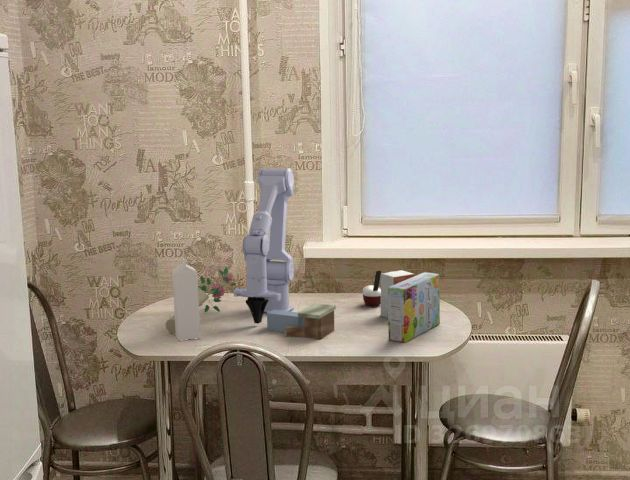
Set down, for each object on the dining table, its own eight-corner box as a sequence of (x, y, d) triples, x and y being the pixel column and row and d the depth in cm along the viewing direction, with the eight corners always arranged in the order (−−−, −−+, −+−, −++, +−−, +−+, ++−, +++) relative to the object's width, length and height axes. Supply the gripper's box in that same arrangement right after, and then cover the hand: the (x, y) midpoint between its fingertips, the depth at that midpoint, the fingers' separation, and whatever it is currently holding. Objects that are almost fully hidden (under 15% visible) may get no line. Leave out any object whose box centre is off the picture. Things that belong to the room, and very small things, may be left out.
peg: (267, 330, 225) (266, 313, 224) (273, 326, 229) (273, 309, 228) (298, 334, 221) (298, 316, 220) (304, 330, 225) (304, 313, 224)
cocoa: (363, 303, 254) (361, 266, 253) (382, 302, 254) (381, 265, 252) (363, 309, 245) (361, 271, 243) (383, 309, 244) (382, 270, 243)
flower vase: (168, 357, 226) (213, 301, 257) (204, 348, 221) (246, 292, 252) (150, 321, 222) (198, 269, 253) (186, 312, 218) (231, 260, 249)
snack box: (423, 321, 231) (423, 271, 228) (440, 324, 228) (441, 273, 225) (386, 340, 214) (386, 286, 211) (405, 343, 211) (405, 288, 208)
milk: (178, 341, 215) (174, 262, 211) (175, 335, 221) (171, 258, 217) (200, 339, 217) (196, 260, 213) (197, 332, 223) (193, 256, 219)
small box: (393, 320, 233) (393, 277, 231) (380, 315, 238) (380, 273, 236) (414, 315, 237) (414, 273, 235) (400, 311, 243) (401, 269, 240)
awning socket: (284, 336, 219) (284, 311, 218) (303, 325, 229) (302, 301, 228) (319, 340, 214) (318, 315, 213) (336, 329, 224) (336, 305, 223)
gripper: (227, 277, 226) (229, 323, 228) (272, 281, 220) (273, 328, 222) (240, 272, 232) (241, 317, 235) (284, 276, 226) (284, 322, 228)
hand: (257, 322), depth 229 cm, fingers closed
